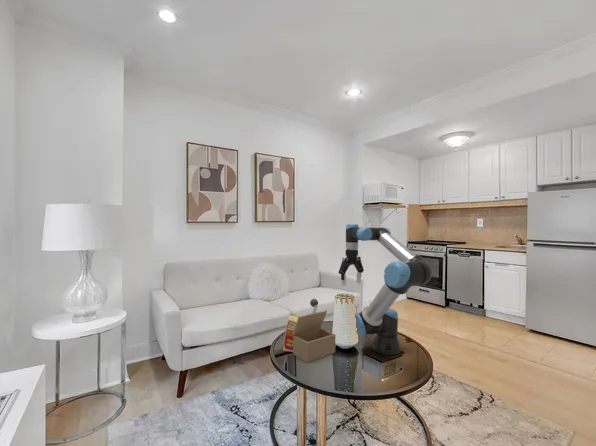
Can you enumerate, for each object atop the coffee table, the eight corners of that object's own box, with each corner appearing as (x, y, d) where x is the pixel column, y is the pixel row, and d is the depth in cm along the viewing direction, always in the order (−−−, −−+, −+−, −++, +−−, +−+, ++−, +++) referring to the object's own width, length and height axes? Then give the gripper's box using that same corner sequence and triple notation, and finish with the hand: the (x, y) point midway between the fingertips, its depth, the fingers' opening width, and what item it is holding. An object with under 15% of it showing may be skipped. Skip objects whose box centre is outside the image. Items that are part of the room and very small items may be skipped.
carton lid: (331, 299, 164) (326, 294, 167) (303, 305, 151) (298, 299, 155) (320, 328, 170) (316, 322, 174) (293, 335, 158) (288, 329, 161)
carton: (335, 352, 160) (335, 334, 161) (307, 362, 148) (307, 343, 148) (320, 345, 170) (320, 328, 170) (293, 354, 158) (293, 335, 158)
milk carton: (283, 350, 163) (283, 314, 163) (288, 343, 171) (289, 309, 171) (298, 352, 160) (299, 316, 160) (303, 346, 168) (304, 311, 168)
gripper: (360, 248, 188) (359, 281, 187) (332, 249, 172) (332, 285, 172) (369, 248, 182) (369, 282, 182) (342, 250, 166) (341, 287, 166)
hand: (351, 284), depth 177 cm, fingers open, 13 cm apart
